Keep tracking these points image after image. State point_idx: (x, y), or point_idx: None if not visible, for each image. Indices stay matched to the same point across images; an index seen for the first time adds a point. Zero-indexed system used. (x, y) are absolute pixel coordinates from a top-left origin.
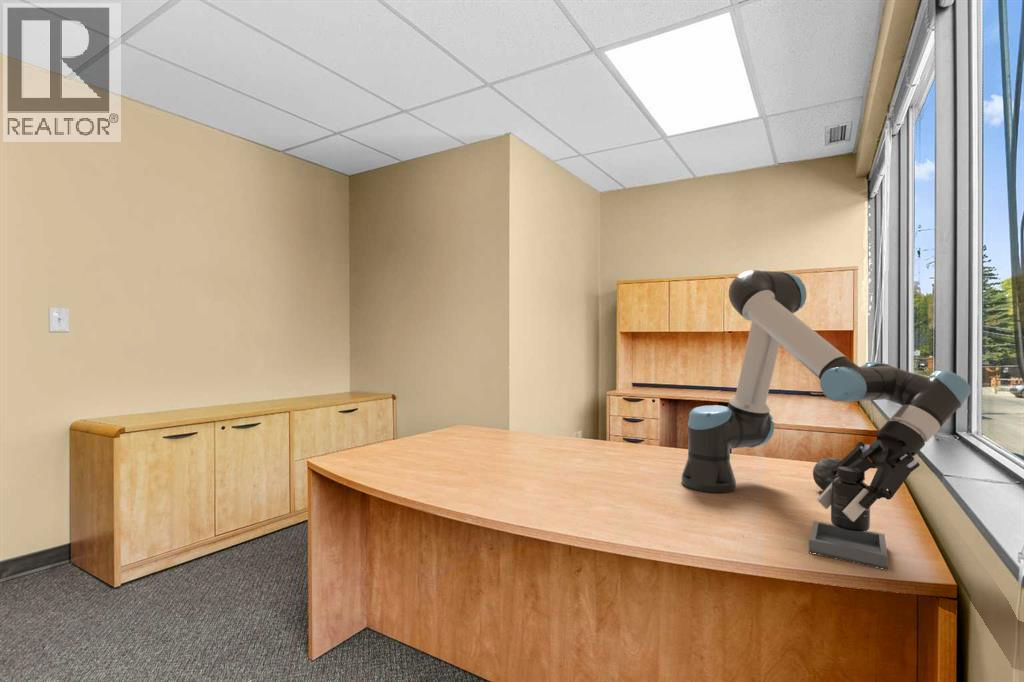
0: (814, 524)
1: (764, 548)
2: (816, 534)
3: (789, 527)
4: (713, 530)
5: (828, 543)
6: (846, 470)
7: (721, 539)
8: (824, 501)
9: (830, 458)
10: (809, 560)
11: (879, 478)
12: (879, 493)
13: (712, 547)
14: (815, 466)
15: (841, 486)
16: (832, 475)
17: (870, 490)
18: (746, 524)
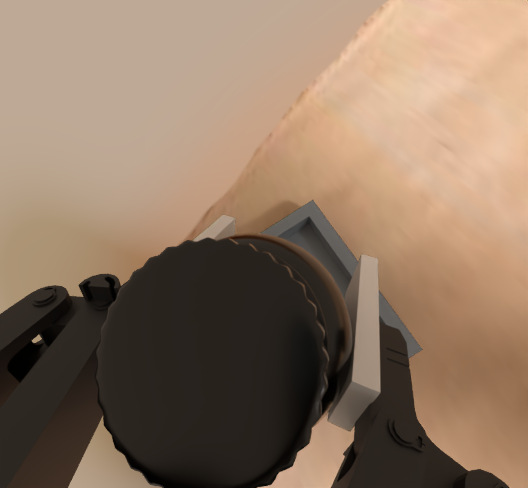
0: (392, 316)
1: (367, 142)
2: (335, 254)
3: (466, 315)
4: (503, 103)
5: (278, 222)
6: (191, 254)
7: (442, 89)
8: (353, 280)
9: None
10: (287, 182)
11: (20, 385)
12: (81, 300)
13: (408, 49)
14: None
15: (242, 235)
16: None
17: (113, 290)
18: (525, 213)
